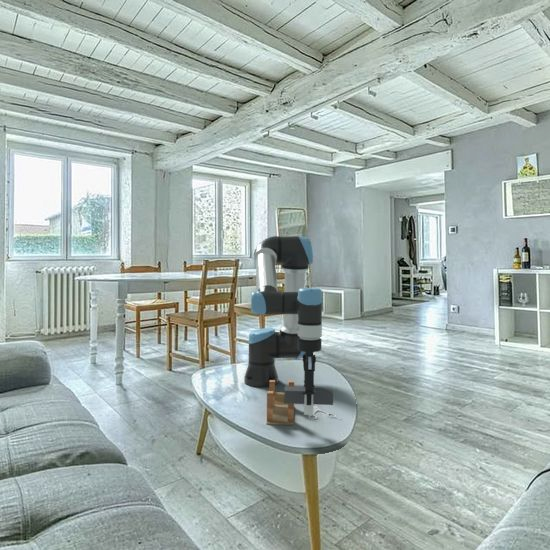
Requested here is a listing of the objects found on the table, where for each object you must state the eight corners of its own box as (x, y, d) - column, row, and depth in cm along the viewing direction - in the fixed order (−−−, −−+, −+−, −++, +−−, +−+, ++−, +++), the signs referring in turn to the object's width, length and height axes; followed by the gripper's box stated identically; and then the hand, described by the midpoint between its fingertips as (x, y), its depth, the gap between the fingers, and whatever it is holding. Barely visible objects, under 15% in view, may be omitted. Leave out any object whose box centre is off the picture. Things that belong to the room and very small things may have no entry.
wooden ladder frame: (269, 405, 143) (269, 379, 142) (293, 406, 142) (294, 379, 142) (266, 424, 127) (266, 394, 126) (293, 425, 126) (294, 395, 126)
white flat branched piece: (311, 421, 129) (296, 399, 149) (311, 423, 129) (296, 401, 149) (341, 419, 131) (322, 397, 151) (340, 421, 131) (322, 399, 151)
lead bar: (331, 400, 122) (331, 387, 122) (332, 404, 118) (333, 392, 118) (284, 398, 123) (284, 386, 123) (284, 403, 119) (284, 390, 119)
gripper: (297, 332, 129) (296, 401, 129) (297, 343, 112) (296, 422, 112) (319, 332, 128) (318, 401, 129) (323, 343, 111) (322, 423, 112)
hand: (308, 411), depth 121 cm, fingers closed on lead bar, 4 cm apart
